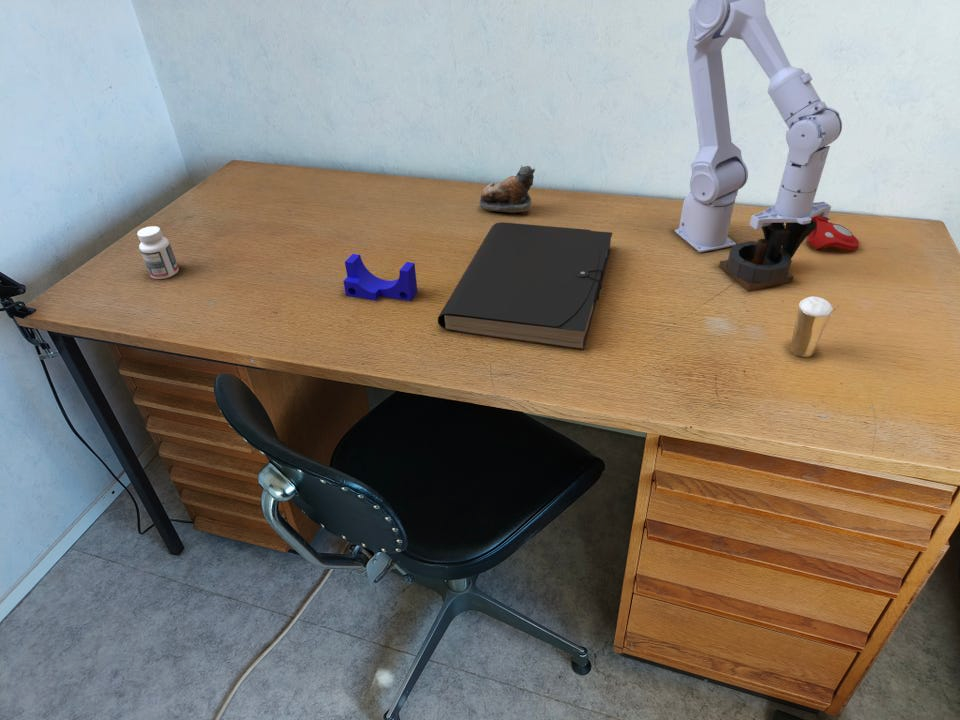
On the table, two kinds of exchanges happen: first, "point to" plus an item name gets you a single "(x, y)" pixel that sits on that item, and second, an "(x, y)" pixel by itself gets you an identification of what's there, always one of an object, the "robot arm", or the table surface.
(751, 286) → the brown peg stand
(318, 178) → the table surface
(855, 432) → the table surface
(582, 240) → the dark grey book
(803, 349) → the milkshake
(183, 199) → the table surface
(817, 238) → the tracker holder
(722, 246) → the robot arm
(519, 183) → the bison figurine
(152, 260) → the pill bottle
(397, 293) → the blue cradle bracket
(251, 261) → the table surface
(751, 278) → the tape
